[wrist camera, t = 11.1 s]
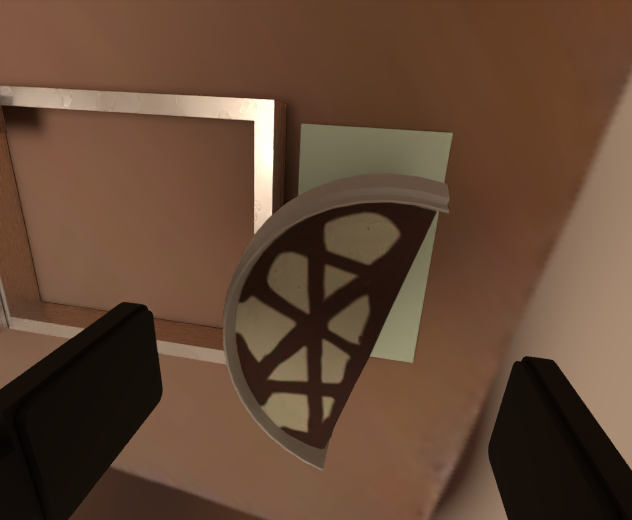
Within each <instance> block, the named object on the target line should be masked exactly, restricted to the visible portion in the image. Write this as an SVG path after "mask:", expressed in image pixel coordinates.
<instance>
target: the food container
mask: <svg viewBox="0 0 632 520" xmlns="http://www.w3.org/2000/svg"><path fill="white" fill-rule="evenodd" d="M449 200H450V195H449V190H448V185H447V184H446V183H442V182H438V181H434V180H431V179H427V178H423V177H419V176H410V175H401V174H392V173H388V174H365V175H358V176H353V177H348V178H343V179H338V180H334V181H331V182H329V183H326V184H323V185H321V186H318V187H315V188H313V189H310V190H308V191H306V192H305V193H303V194H301V195H299V196H298V197H296V198H294V199H293V200H291V201H289V202H287V203H286V204H285V205H284V206H282V207H281V208H280V209H279V210H278V211H276V212H275V213H274V214H273V215H272V216H270V217H269V218H268V219H267V220H266V221H265V223H264V224H263V225H262V226H261V227H260V228H259V230H258V231H257V232H256V233H255V234H254V236H253V237H252V239H251V240H250V242H249V244H248V245H247V247H246V249H245V251H244V252H243V254H242V256H241V258H240V260H239V263H238V265H237V267H236V270H235V272H234V275H233V278H232V280H231V283H230V285H229V288H228V291H227V295H226V300H225V306H224V311H223V347H224V353H225V359H226V365H227V368H228V371H229V374H230V378H231V381H232V384H233V386H234V388H235V390H236V392H237V394H238V396H239V398H240V400H241V402H242V404H243V405H244V406H245V408H246V409H247V411H248V412H249V414H250V415H251V416H252V418H253V419H254V421H255V422H256V423H257V424H258V425H259V426H260V427H261V428H262V429H263V430H264V431H265V432H266V434H267V435H268V436H269V437H270V438H272V439H273V440H274V441H275V442H276V443H278V444H279V445H280V446H281V447H282V448H284V449H285V450H286V451H288V452H289V453H291V454H292V455H294V456H296V457H297V458H299V459H300V460H302V461H303V462H305V463H307V464H309V465H311V466H313V467H315V468H317V469H319V470H321V471H323V467H324V462H325V458H326V453H327V448H328V443H329V439H330V438H331V435H332V432H333V429H334V427H335V424H336V422H337V420H338V418H339V416H340V414H341V412H342V410H343V408H344V406H345V404H346V402H347V400H348V398H349V396H350V394H351V392H352V390H353V388H354V385H355V383H356V382H357V380H358V378H359V376H360V374H361V372H362V370H363V368H364V366H365V364H366V362H367V361H368V359H369V357H370V355H371V353H372V351H373V349H374V346H375V344H376V342H377V340H378V337H379V335H380V333H381V330H382V328H383V326H384V324H385V321H386V319H387V317H388V315H389V313H390V311H391V308H392V306H393V304H394V302H395V300H396V298H397V296H398V293H399V291H400V289H401V287H402V285H403V283H404V281H405V279H406V277H407V274H408V272H409V270H410V268H411V266H412V264H413V262H414V260H415V258H416V256H417V253H418V251H419V249H420V247H421V245H422V243H423V241H424V239H425V236H426V234H427V232H428V230H429V228H430V226H431V224H432V221H433V219H434V217H435V215H436V213H437V211H441V212H445V213H449V211H450V210H449V209H448V207H447V204H448V202H449ZM436 210H437V211H436Z"/></svg>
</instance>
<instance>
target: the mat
mask: <svg viewBox="0 0 632 520" xmlns="http://www.w3.org/2000/svg"><path fill="white" fill-rule="evenodd" d="M452 135H453V133H446V132H430V131H414V130H397V129H381V128H365V127H348V126H332V125H316V124H301V139H300V163H299V186H298V196H299V195H301V194H303V193H305V192H306V191H308V190H310V189H313V188H315V187H318V186H321V185H323V184H326V183H329V182H331V181H334V180H338V179H343V178H348V177H353V176H358V175H365V174H388V173H392V174H401V175H410V176H419V177H423V178H427V179H431V180H434V181H438V182H442V183H444V181H445V175H446V169H447V164H448V158H449V152H450V146H451V141H452ZM436 211H437V210H436ZM438 215H439V211H437V213H436V215H435V217H434V219H433V221H432V224H431V226H430V228H429V230H428V232H427V234H426V236H425V239H424V241H423V243H422V245H421V247H420V249H419V251H418V253H417V256H416V258H415V260H414V262H413V264H412V266H411V268H410V270H409V272H408V274H407V277H406V279H405V281H404V283H403V285H402V287H401V289H400V291H399V293H398V296H397V298H396V300H395V302H394V304H393V306H392V308H391V311H390V313H389V315H388V317H387V319H386V321H385V324H384V326H383V328H382V330H381V333H380V335H379V337H378V340H377V342H376V344H375V346H374V349H373V351H372V353H371V355H370V356H372V357H379V358H385V359H392V360H398V361H405V362H411V363H413V358H414V353H415V347H416V341H417V335H418V330H419V324H420V318H421V313H422V307H423V301H424V295H425V290H426V284H427V278H428V272H429V267H430V261H431V255H432V250H433V244H434V238H435V232H436V227H437V221H438Z"/></svg>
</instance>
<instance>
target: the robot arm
mask: <svg viewBox="0 0 632 520" xmlns="http://www.w3.org/2000/svg"><path fill="white" fill-rule="evenodd" d="M162 392H163V388H162V380H161V373H160V365H159V357H158V349H157V341H156V333H155V326H154V318H153V314H152V312H151V311H148V308H147V306H145V305H143V304H136V303H129V302H122V303H120V304H119V305H117V306H116V307H114V308H113V309H112V310H110V311H109V312H107V313H106V314H105V315H103V316H102V317H100V318H99V319H98V320H96V321H95V322H94V323H92V324H91V325H89V326H88V327H87V328H85V329H84V330H82V331H81V332H80V333H78V334H77V335H75V336H74V337H73V338H71V339H70V340H68V341H67V342H66V343H64V344H63V345H62V346H60V347H59V348H57V349H56V350H55V351H53V352H52V353H50V354H49V355H48V356H46V357H45V358H43V359H42V360H41V361H39V362H38V363H36V364H35V365H34V366H32V367H31V368H30V369H28V370H27V371H25V372H24V373H23V374H21V375H20V376H18V377H17V378H16V379H14V380H13V381H11V382H10V383H9V384H7V385H6V386H4V387H3V388H2V389H0V520H68V519H69V518H70V517H71V515H72V514H73V513H74V511H75V510H76V509H77V507H78V506H79V505H80V504H81V502H82V501H83V500H84V498H85V497H86V496H87V495H88V493H89V492H90V491H91V489H92V488H93V487H94V486H95V484H96V483H97V481H98V480H99V479H100V478H101V477H102V475H103V474H104V473H105V472H106V470H107V469H108V468H109V466H110V465H111V464H112V462H113V461H114V460H115V459H116V457H117V456H118V455H119V453H120V452H121V451H122V450H123V448H124V447H125V446H126V444H127V443H128V442H129V441H130V439H131V438H132V437H133V435H134V434H135V433H136V432H137V430H138V429H139V428H140V426H141V425H142V424H143V422H144V421H145V420H146V419H147V417H148V416H149V415H150V413H151V412H152V411H153V410H154V408H155V407H156V406H157V404H158V403H159V401H160V399H161V396H162ZM488 454H489V460H490V464H491V467H492V470H493V473H494V476H495V479H496V483H497V486H498V489H499V492H500V495H501V498H502V502H503V505H504V508H505V511H506V515H507V518H508V520H632V470H631V469H630V468H629V466H628V464H626V462H625V460H624V459H623V458H622V456H621V455H620V453H619V452H618V450H617V449H616V448H615V446H614V445H613V443H612V442H611V440H610V439H609V438H608V436H607V435H606V433H605V432H604V431H603V429H602V428H601V426H600V425H599V424H598V422H597V421H596V419H595V418H594V416H593V415H592V414H591V412H590V411H589V409H588V408H587V407H586V405H585V404H584V403H583V401H582V400H581V398H580V397H579V395H578V394H577V392H576V391H575V389H574V388H573V387H572V385H571V384H570V382H569V381H568V380H567V378H566V377H565V375H564V374H563V373H562V371H561V370H560V368H559V367H558V366H557V364H556V363H555V362H554V361H553V360H550V359H543V358H536V357H529V356H526V357H524V358H523V359H522V361H521V362H520V361H516V362H515V363H514V364H513V367H512V370H511V374H510V377H509V380H508V383H507V386H506V390H505V393H504V396H503V399H502V403H501V406H500V409H499V413H498V416H497V419H496V422H495V426H494V429H493V432H492V435H491V439H490V442H489V447H488Z"/></svg>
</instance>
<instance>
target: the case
mask: <svg viewBox="0 0 632 520" xmlns="http://www.w3.org/2000/svg"><path fill="white" fill-rule="evenodd" d="M1 105H6V106H22V107H38V108H55V109H71V110H87V111H103V112H120V113H136V114H152V115H168V116H185V117H201V118H217V119H233V120H250V121H255V170H254V234H255V233H256V232H257V231H258V230H259V228H260V227H261V226H262V225H263V224H264V223H265V221H266V220H267V219H268V218H269V217H270V216H272V215H273V214H274V213H275V212H276V211H278V210H279V209H280V208H281V207H282V206H284V180H285V146H286V113H287V104H286V103H283V102H279V101H276V100H264V99H245V98H226V97H207V96H188V95H169V94H150V93H131V92H112V91H92V90H73V89H54V88H35V87H16V86H0V332H2V331H4V330H7V329H8V328H10V329H16V330H22V331H28V332H34V333H40V334H46V335H52V336H58V337H64V338H70V339H71V338H73V337H74V336H75V335H77V334H78V333H80V332H81V331H82V330H84V329H85V328H87V327H88V326H89V325H91V324H92V323H94V322H95V321H96V320H98V319H99V318H100V317H102V316H103V315H105V314H106V313H107V311H100V310H94V309H87V308H80V307H74V306H67V305H60V304H54V303H47V302H41V299H40V294H39V290H38V285H37V280H36V276H35V271H34V266H33V262H32V257H31V252H30V248H29V243H28V238H27V233H26V229H25V224H24V219H23V215H22V210H21V205H20V201H19V196H18V191H17V187H16V182H15V177H14V173H13V168H12V163H11V159H10V154H9V149H8V145H7V140H6V135H5V133H7V130H6V125H5V120H4V115H3V111H2V106H1ZM154 326H155V333H156V341H157V349H158V353H161V354H167V355H173V356H179V357H185V358H191V359H197V360H204V361H210V362H216V363H222V364H226V359H225V353H224V347H223V329H220V328H213V327H207V326H200V325H193V324H187V323H180V322H173V321H167V320H160V319H154Z"/></svg>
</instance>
